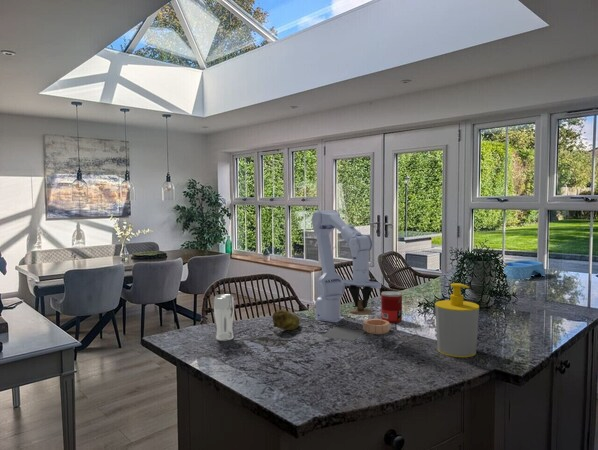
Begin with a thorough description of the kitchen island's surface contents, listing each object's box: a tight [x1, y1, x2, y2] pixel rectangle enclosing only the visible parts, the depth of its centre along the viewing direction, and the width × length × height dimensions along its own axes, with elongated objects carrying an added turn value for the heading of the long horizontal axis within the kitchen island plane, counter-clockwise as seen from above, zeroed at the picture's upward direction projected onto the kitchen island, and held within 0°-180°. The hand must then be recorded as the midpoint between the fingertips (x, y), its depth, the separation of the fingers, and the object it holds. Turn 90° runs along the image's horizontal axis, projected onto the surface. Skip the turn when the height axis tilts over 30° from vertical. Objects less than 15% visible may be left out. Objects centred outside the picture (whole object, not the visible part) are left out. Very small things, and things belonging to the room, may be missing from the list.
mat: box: [321, 326, 367, 342], centre depth 153 cm, size 12×12×1 cm
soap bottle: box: [434, 282, 480, 358], centre depth 135 cm, size 13×13×21 cm
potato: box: [271, 309, 300, 331], centre depth 160 cm, size 8×13×8 cm, turn 127°
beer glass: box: [213, 293, 235, 342], centre depth 151 cm, size 7×7×15 cm
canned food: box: [380, 290, 403, 324], centre depth 170 cm, size 8×8×11 cm
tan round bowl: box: [362, 318, 391, 335], centre depth 157 cm, size 9×9×3 cm
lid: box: [349, 299, 372, 316], centre depth 154 cm, size 8×8×4 cm
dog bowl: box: [504, 260, 547, 280], centre depth 264 cm, size 34×19×8 cm, turn 122°
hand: (361, 306), depth 155 cm, fingers closed on lid, 2 cm apart
